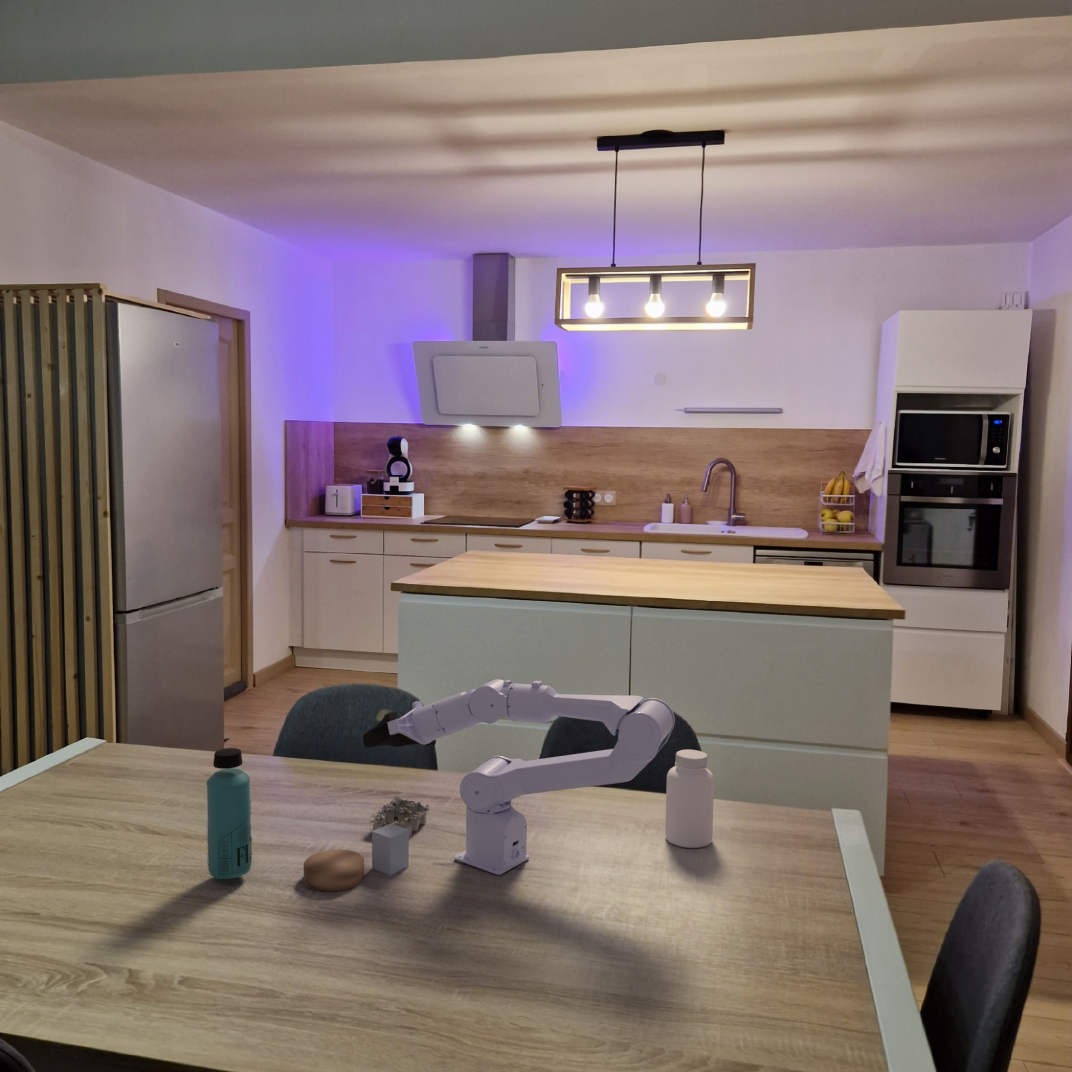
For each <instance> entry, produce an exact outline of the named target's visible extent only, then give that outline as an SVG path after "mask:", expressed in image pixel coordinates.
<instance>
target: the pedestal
mask: <svg viewBox="0 0 1072 1072" xmlns="http://www.w3.org/2000/svg"><path fill="white" fill-rule="evenodd" d="M364 878H365V857H364V856H363V855H362V854H361V853H360V852H359V853H358V852H356V851H353V850H349V849H329V850H323V851H320V852H317V853H315V854H314V853H313V854H312V855H310V856H309V857H307V858H306V859H305V860H304V862H303V883H304V885H305V887H307V888H308V889H311V890H313V889H314V890H313V891H316V890H318V891H317V892H323V893H326V892H327V893H333V892H334V891H336V892H340V891H341V890H342V891H346V890H349V889H351V888H352V889H353V888H354V887H356V886H358V885H359V884H361V883H362V881H363V880H364Z"/></svg>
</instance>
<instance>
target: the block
mask: <svg viewBox="0 0 1072 1072" xmlns="http://www.w3.org/2000/svg"><path fill="white" fill-rule="evenodd" d="M371 837H372V838H371V868H372V869H373V870H376V871H377V872H378V871H379V872H380V873H383V874H386V875H389V876H392V875H394V874H397V872H400V871H403V870H404V869H407V868H408V867H409V860H410V859H409V858H410V857H409V856H410V855H409V849H410V848H409V847H410V846H409V845H410V840H409V839H410V838H409V830H408V829H405V828H402V827H400V826H397V825H394V823H390V824H386V826H383V827H381V828H379V829H376V830H374V831H373V830H372V831H371Z"/></svg>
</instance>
